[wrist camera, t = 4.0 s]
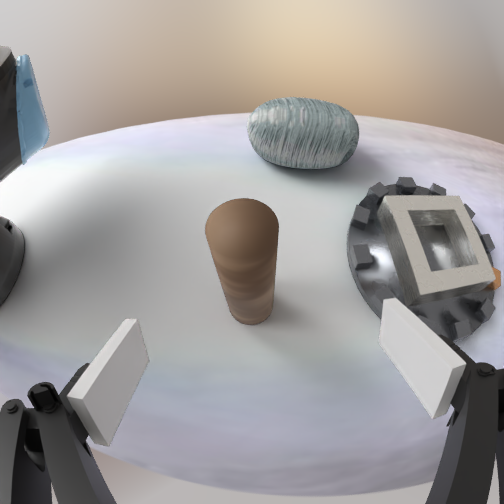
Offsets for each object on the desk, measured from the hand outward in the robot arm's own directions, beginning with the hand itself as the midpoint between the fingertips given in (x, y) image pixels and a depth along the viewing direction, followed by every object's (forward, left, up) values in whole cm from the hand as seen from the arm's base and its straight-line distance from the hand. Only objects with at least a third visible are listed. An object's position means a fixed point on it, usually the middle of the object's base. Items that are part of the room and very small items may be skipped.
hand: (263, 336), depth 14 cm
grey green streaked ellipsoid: (+7, +25, -11) cm, 28 cm away
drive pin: (-1, +6, -10) cm, 12 cm away
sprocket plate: (+19, +9, -10) cm, 24 cm away
